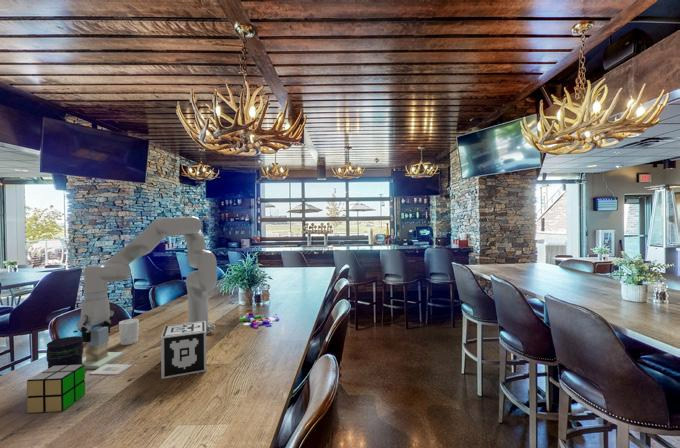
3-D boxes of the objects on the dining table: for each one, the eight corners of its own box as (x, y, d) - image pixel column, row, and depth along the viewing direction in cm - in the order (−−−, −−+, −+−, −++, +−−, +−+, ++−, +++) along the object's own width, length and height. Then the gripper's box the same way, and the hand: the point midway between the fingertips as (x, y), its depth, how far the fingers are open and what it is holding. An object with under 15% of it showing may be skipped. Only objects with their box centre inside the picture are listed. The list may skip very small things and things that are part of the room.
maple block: (107, 355, 134) (107, 341, 134) (97, 360, 129) (97, 345, 129) (96, 355, 134) (96, 341, 134) (86, 360, 129) (85, 345, 129)
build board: (123, 355, 137) (123, 352, 137) (99, 368, 124) (99, 365, 124) (94, 354, 138) (94, 351, 138) (67, 368, 125) (67, 364, 125)
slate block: (108, 341, 134) (108, 326, 134) (98, 345, 129) (98, 330, 129) (97, 341, 134) (96, 326, 134) (86, 345, 129) (86, 330, 129)
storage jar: (42, 393, 106) (41, 339, 106) (51, 380, 115) (51, 330, 115) (80, 386, 111) (79, 334, 111) (86, 374, 120) (86, 326, 120)
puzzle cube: (53, 396, 105) (53, 365, 105) (86, 394, 106) (85, 363, 106) (26, 414, 95) (25, 380, 95) (62, 412, 96) (62, 378, 96)
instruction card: (132, 365, 127) (132, 364, 127) (117, 375, 119) (117, 373, 119) (106, 364, 128) (106, 363, 128) (89, 374, 120) (89, 373, 120)
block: (165, 362, 130) (165, 325, 130) (205, 356, 136) (205, 320, 136) (161, 379, 116) (160, 337, 116) (206, 371, 122) (206, 331, 122)
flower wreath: (284, 325, 178) (284, 317, 178) (245, 331, 168) (245, 322, 168) (272, 314, 200) (272, 306, 200) (237, 318, 191) (237, 311, 191)
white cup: (129, 346, 148) (129, 324, 148) (114, 344, 149) (114, 323, 149) (143, 339, 155) (142, 319, 155) (129, 338, 157) (128, 318, 157)
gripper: (104, 291, 140) (104, 330, 140) (68, 300, 123) (68, 345, 123) (120, 291, 140) (121, 330, 140) (86, 300, 122) (87, 345, 122)
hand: (96, 337), depth 131 cm, fingers open, 9 cm apart
